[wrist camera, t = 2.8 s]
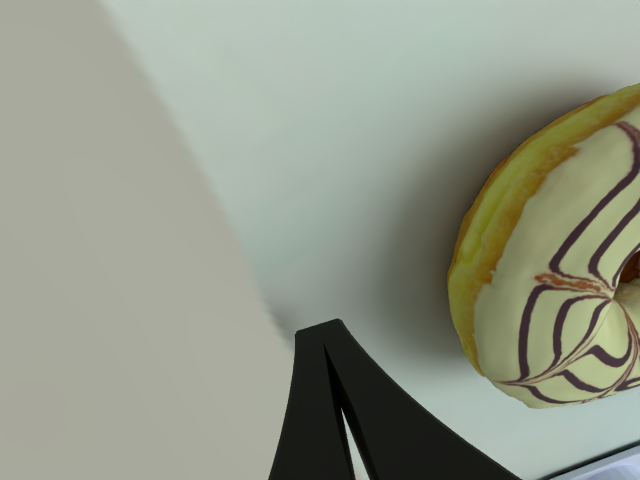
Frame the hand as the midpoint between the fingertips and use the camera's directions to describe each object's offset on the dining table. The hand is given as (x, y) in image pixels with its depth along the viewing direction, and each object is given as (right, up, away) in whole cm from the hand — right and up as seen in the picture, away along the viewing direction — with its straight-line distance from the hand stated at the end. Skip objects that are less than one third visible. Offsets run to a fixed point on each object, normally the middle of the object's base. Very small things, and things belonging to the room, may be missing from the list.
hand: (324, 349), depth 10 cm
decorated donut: (+9, +3, +2) cm, 10 cm away
